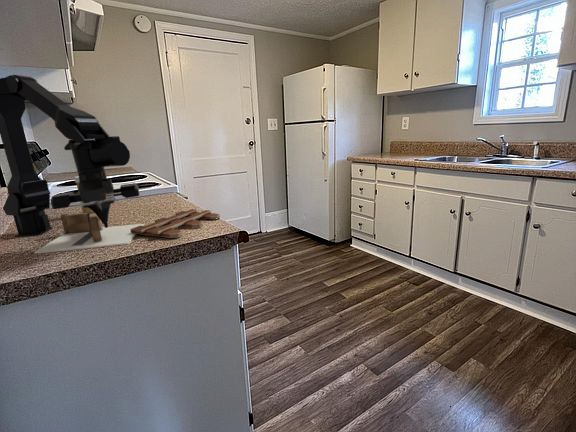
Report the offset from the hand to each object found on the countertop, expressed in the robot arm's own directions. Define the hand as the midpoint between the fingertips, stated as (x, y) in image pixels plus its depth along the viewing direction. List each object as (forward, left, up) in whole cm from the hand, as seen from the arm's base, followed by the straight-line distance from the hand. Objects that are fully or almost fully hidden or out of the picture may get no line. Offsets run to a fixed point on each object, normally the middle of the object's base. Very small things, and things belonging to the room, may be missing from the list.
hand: (106, 227), depth 80 cm
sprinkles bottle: (-15, +30, -3) cm, 34 cm away
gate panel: (-3, 0, -2) cm, 4 cm away
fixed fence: (-9, +7, -2) cm, 11 cm away
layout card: (-3, +1, -3) cm, 4 cm away
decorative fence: (+17, +5, -3) cm, 18 cm away
